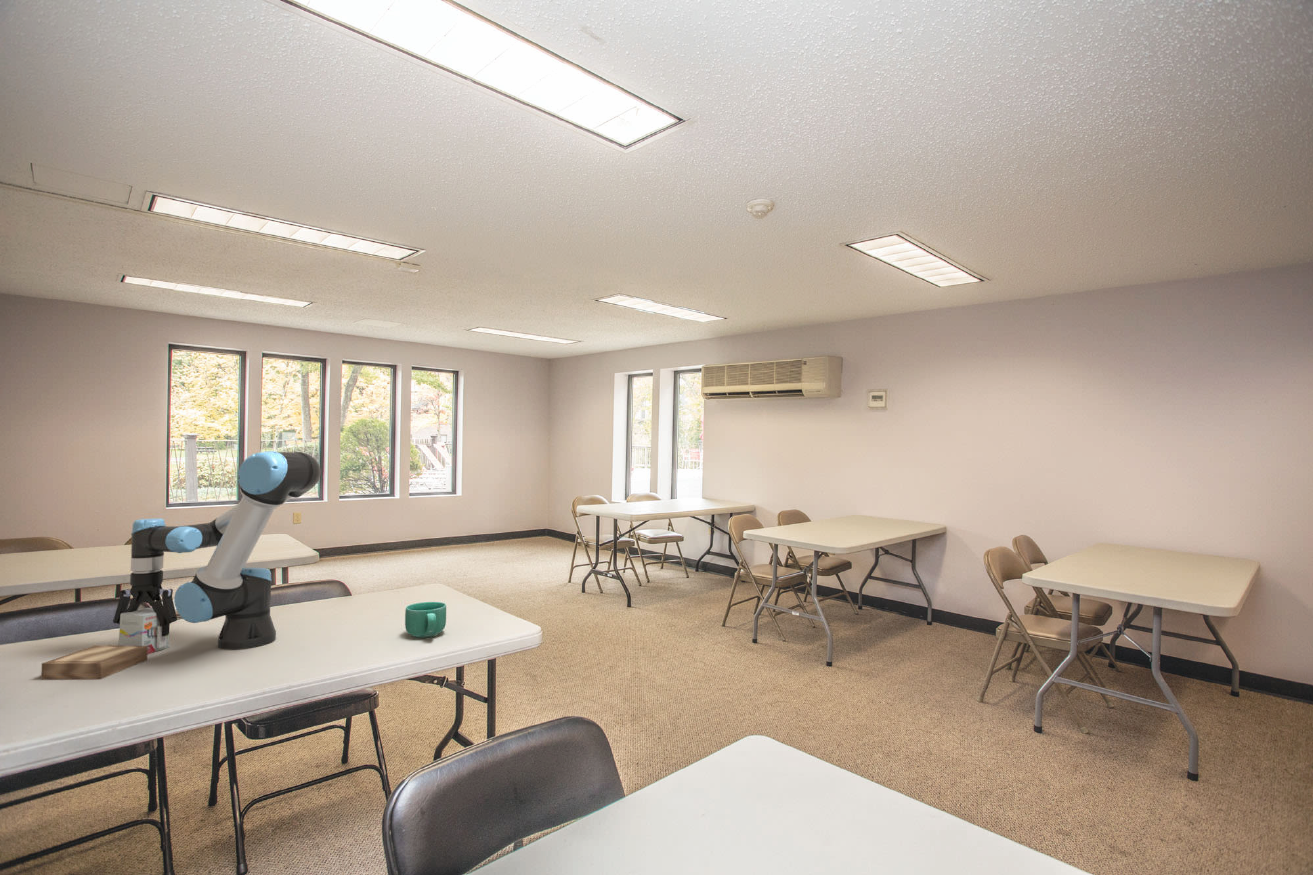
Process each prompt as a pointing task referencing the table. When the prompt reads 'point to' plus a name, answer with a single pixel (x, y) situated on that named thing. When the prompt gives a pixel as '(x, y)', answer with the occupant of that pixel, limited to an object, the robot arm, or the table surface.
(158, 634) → the robot arm
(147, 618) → the ink box
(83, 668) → the riser
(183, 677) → the table surface
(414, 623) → the mug
